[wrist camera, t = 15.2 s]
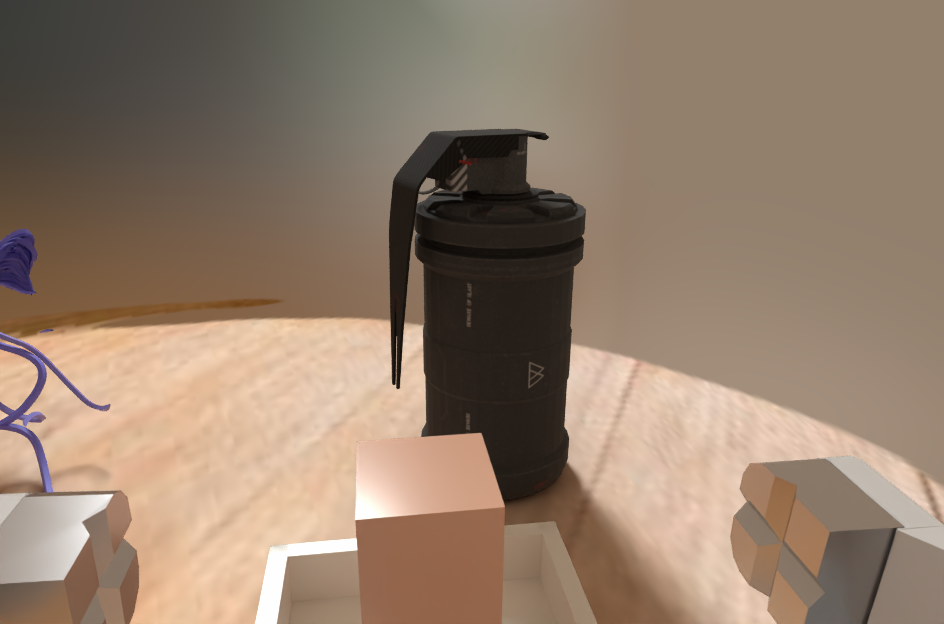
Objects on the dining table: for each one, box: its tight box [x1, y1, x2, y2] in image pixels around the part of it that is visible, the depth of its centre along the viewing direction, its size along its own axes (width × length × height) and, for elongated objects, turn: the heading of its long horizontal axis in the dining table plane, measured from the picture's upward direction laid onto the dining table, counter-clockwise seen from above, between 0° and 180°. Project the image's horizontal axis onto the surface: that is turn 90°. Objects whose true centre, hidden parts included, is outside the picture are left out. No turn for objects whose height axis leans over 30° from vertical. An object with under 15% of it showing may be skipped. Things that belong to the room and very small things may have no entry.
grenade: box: [389, 129, 586, 500], centre depth 38 cm, size 9×11×20 cm
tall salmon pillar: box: [355, 433, 505, 624], centre depth 24 cm, size 4×4×10 cm
